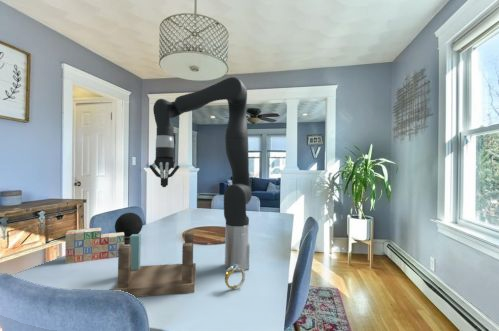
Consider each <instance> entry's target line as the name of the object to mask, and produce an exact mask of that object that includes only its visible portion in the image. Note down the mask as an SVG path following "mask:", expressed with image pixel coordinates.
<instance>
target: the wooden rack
mask: <svg viewBox="0 0 499 331" xmlns="http://www.w3.org/2000/svg"><path fill="white" fill-rule="evenodd" d="M181 250H182V252H181V253H182V254H181V255H182V256H181V257H182V258H181V259H182V260H181V263H175V264H170V263H169V264H154V265H153V264H152V265H150V264H149V265H140V268H139V269H138V270H131V245H130V244H129V245H123V246H120V247H119V248H118V257H117V284H116V285H115V286H114V288H113V289H112V291H113V290H121V291H124V292H128V293H130V294H132V295H134V296H135V297H145V296H146V297H147V296H159V295H171V294H173V295H174V294H188V293H195V288H196V287H195V286H196V271H197V270H196V269H197V268H196V265H197V264H196V263H195V262H194V232H185V234H184V242H183V243H182V249H181Z"/></svg>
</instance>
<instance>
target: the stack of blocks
mask: <svg viewBox="0 0 499 331" xmlns="http://www.w3.org/2000/svg"><path fill="white" fill-rule="evenodd" d="M64 243H65V249H64V250H65V255H64V256H65V260H64V262H65V265H68V264H77V263H83V262H90V261H91V262H92V261H97V260H98V261H99V260H105V259H112V258H118V248H119V247H120V246H123V245H124V232H120V233H116V232H111V233H110V232H109V233H102V227H93V228H91V227H90V228H82V229H74V230H73V229H72V230H71V229H70V230H67V231H66V233H65V242H64Z"/></svg>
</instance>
